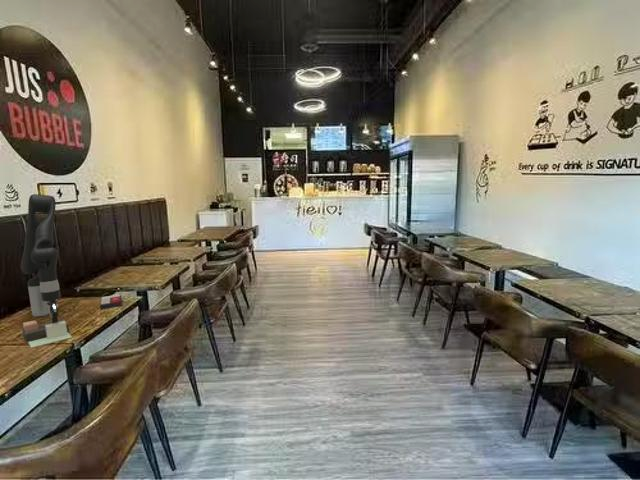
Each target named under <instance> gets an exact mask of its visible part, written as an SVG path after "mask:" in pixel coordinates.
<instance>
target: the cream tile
mask: <svg viewBox="0 0 640 480" xmlns="http://www.w3.org/2000/svg"><path fill="white" fill-rule="evenodd" d="M66 323H67V322H66V320H64V321H61V322H56V323H52V324H47V325H45V329H46V336H47V339H50V338H54V337H58V336H62V335H66V334H67V328H66Z"/></svg>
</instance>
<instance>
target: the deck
mask: <svg viewBox="0 0 640 480" xmlns="http://www.w3.org/2000/svg"><path fill="white" fill-rule="evenodd" d="M61 321H65V319H64V318H60V319H58V322H61ZM47 324H52V320H51V321H48V322H43V323H38V329H37V330H32V331H28V332H25V330H24V327H22V328H21V329H22V337H23V338H24V340H25V342H26V343H27V342H30V341H34V340H38V339H42V338H46V337H47V336H46V329H45V325H47ZM66 328H67V332H68V333H70V331H69V330H70V329H69V324H68V323H67V322H66Z"/></svg>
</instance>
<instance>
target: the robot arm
mask: <svg viewBox="0 0 640 480" xmlns="http://www.w3.org/2000/svg"><path fill="white" fill-rule="evenodd" d="M56 203H57V202H56V199H55V197H54V196H53V195H50V194H49V195H48V194H37V193H34V194H31V195H30V196H29V198H28V209H27V210H28V211H27V213H28V214H27V224H26V230H25V238H24V249H23V252H22V257H21V261H20V262H21V263H20V269H21V271H22V273H23V274H24V275H32V274H36V275H35V276H34V277H32V278H30V279H28V280H27V289H28V295H29V303H30V307H31V314H32V317H34V318H35V317H37V318H38V317H43V316H48V315H49V316H50V318H51V321H52V323H56V322H58V320H59V319H58V317H59V303H58V302H57V300H59V299H61V296H62V294H61V289H60V282H59V280H58V274H57V265H58V258H59V251H58V249H56V248H55V247H52V246H53V245H54V223H55V217H56ZM37 214H47V216H46V217H45V218H44V220H43V221H40V218H39V217H38V215H37ZM47 264H50V265H48V266H47Z"/></svg>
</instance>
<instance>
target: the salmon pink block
mask: <svg viewBox="0 0 640 480" xmlns="http://www.w3.org/2000/svg"><path fill="white" fill-rule="evenodd" d="M22 324H23V328H24V330H25V332H28V331H32V330H37V329H38V324H39V323H38V322H37V321H36V320H30V321H26V322H22Z"/></svg>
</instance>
